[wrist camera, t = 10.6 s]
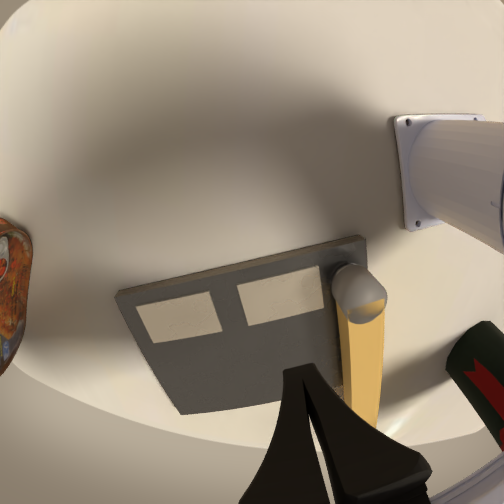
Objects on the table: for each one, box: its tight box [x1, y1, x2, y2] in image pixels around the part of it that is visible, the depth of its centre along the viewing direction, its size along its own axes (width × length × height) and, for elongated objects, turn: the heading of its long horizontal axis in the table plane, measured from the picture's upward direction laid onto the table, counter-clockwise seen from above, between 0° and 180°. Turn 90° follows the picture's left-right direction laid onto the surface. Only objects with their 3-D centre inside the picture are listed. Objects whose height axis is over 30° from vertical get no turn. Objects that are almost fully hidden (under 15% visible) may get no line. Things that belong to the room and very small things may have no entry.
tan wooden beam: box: [331, 265, 387, 429], centre depth 19 cm, size 16×3×2 cm, turn 14°
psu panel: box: [114, 235, 368, 415], centre depth 20 cm, size 17×13×2 cm
